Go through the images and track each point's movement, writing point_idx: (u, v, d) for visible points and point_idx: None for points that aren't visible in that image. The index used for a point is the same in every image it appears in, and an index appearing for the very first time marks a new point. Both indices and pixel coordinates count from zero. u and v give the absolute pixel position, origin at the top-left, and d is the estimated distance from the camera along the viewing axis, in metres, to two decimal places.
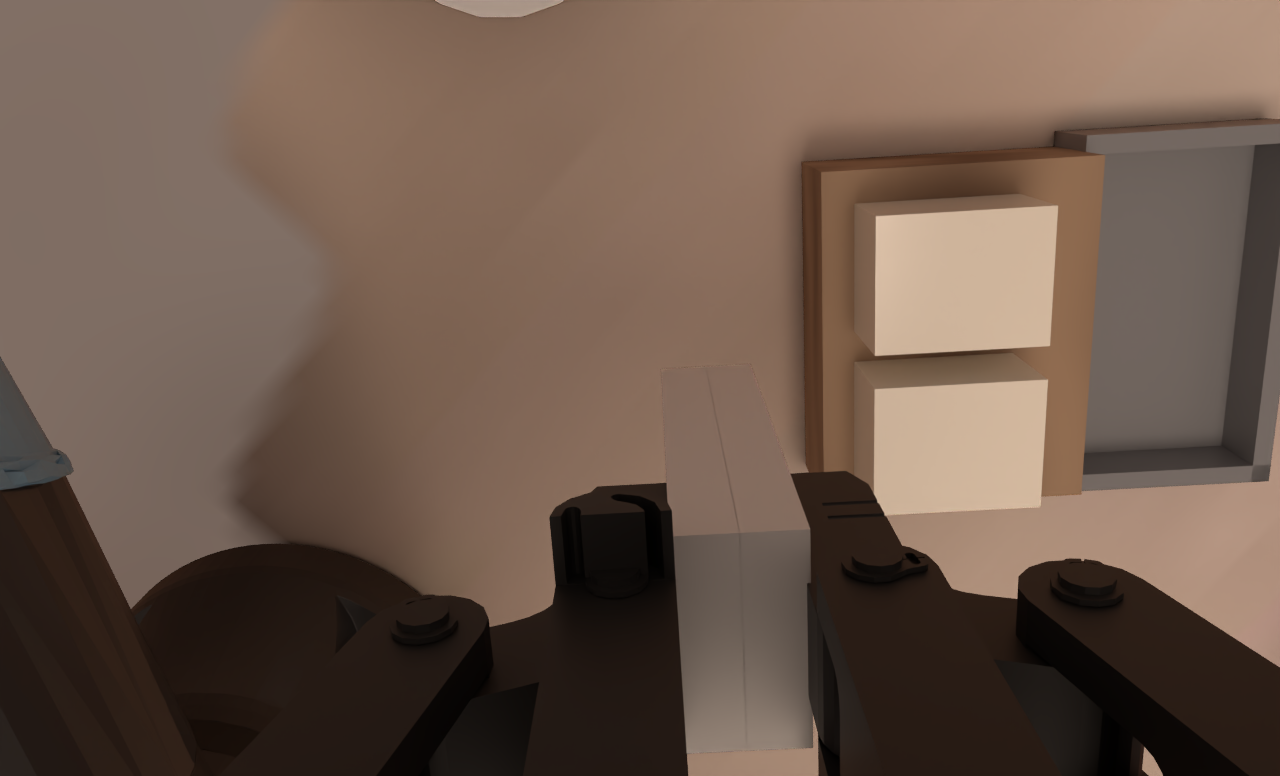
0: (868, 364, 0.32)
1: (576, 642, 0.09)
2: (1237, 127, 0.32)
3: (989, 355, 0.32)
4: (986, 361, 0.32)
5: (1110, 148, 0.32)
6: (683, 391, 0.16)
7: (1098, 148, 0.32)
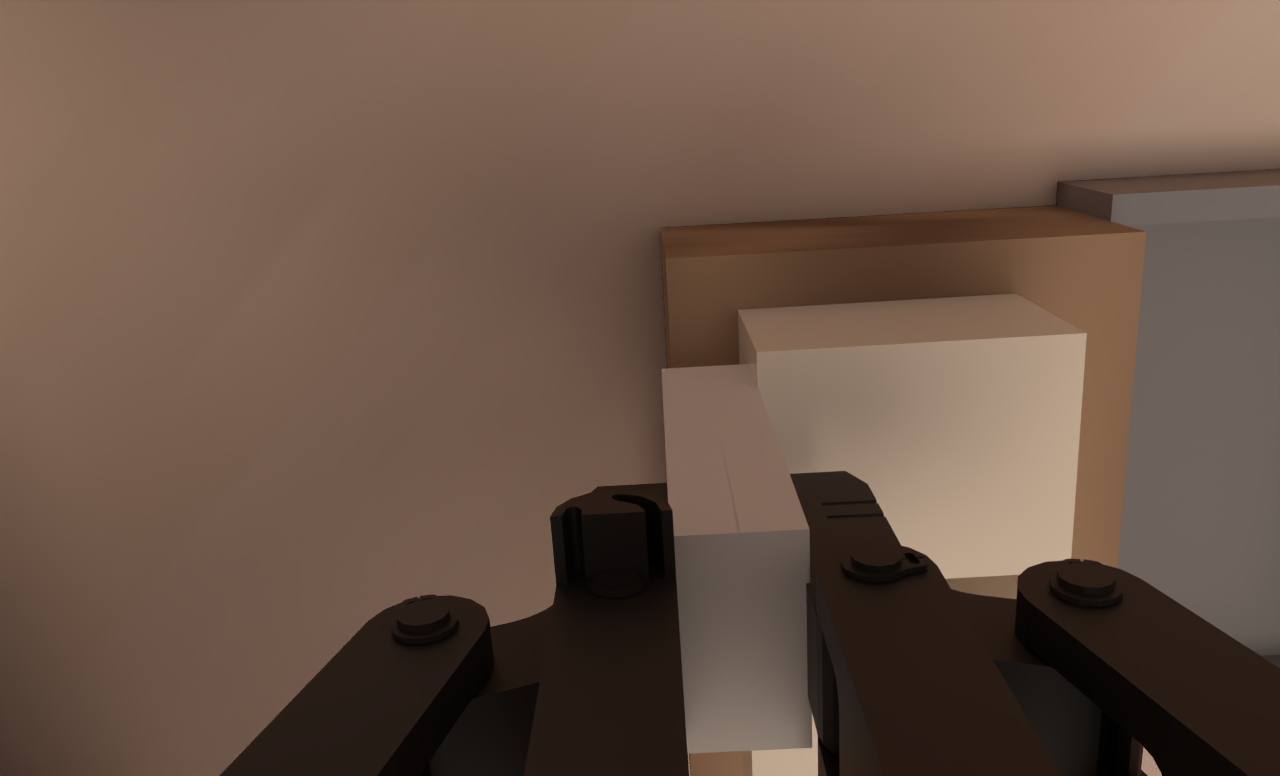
0: None
1: (577, 642, 0.09)
2: None
3: None
4: None
5: (1151, 216, 0.19)
6: (684, 391, 0.16)
7: (1131, 216, 0.19)
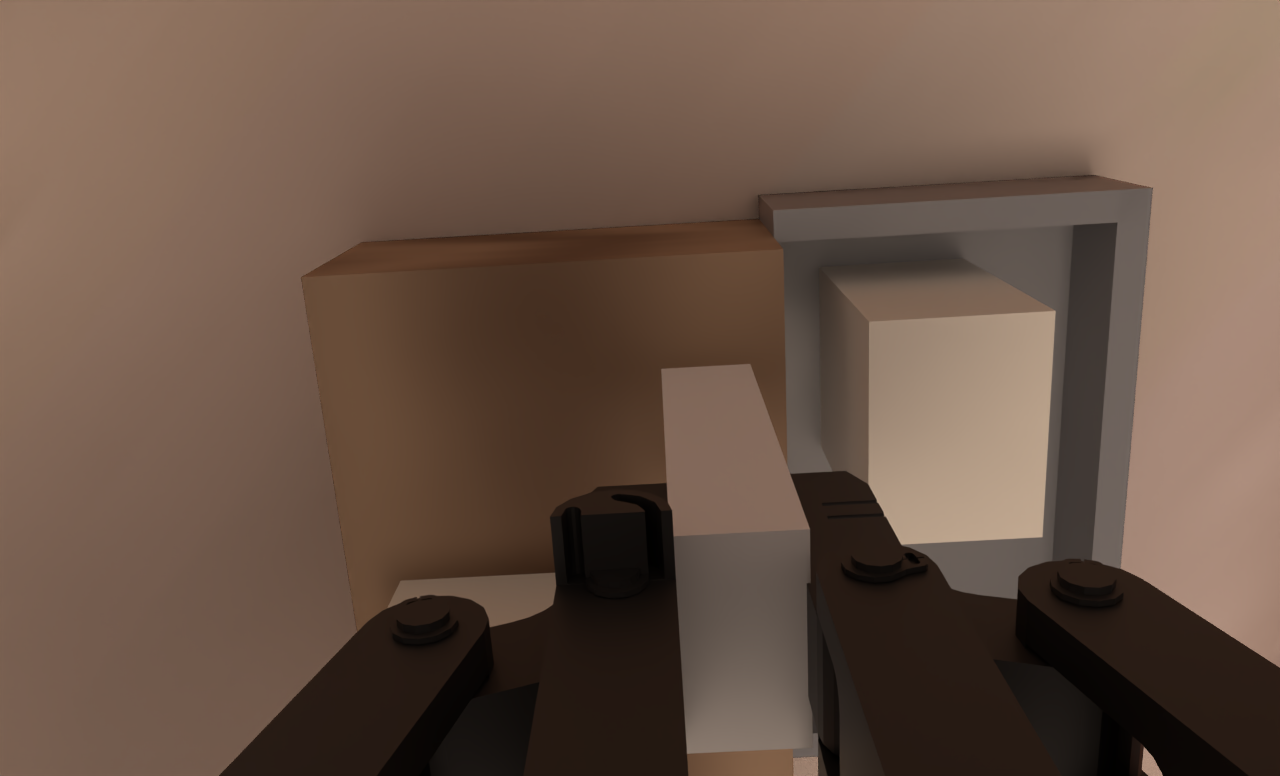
0: (413, 590, 0.19)
1: (576, 643, 0.09)
2: (1024, 197, 0.19)
3: None
4: None
5: (814, 231, 0.19)
6: (683, 391, 0.16)
7: (794, 231, 0.19)
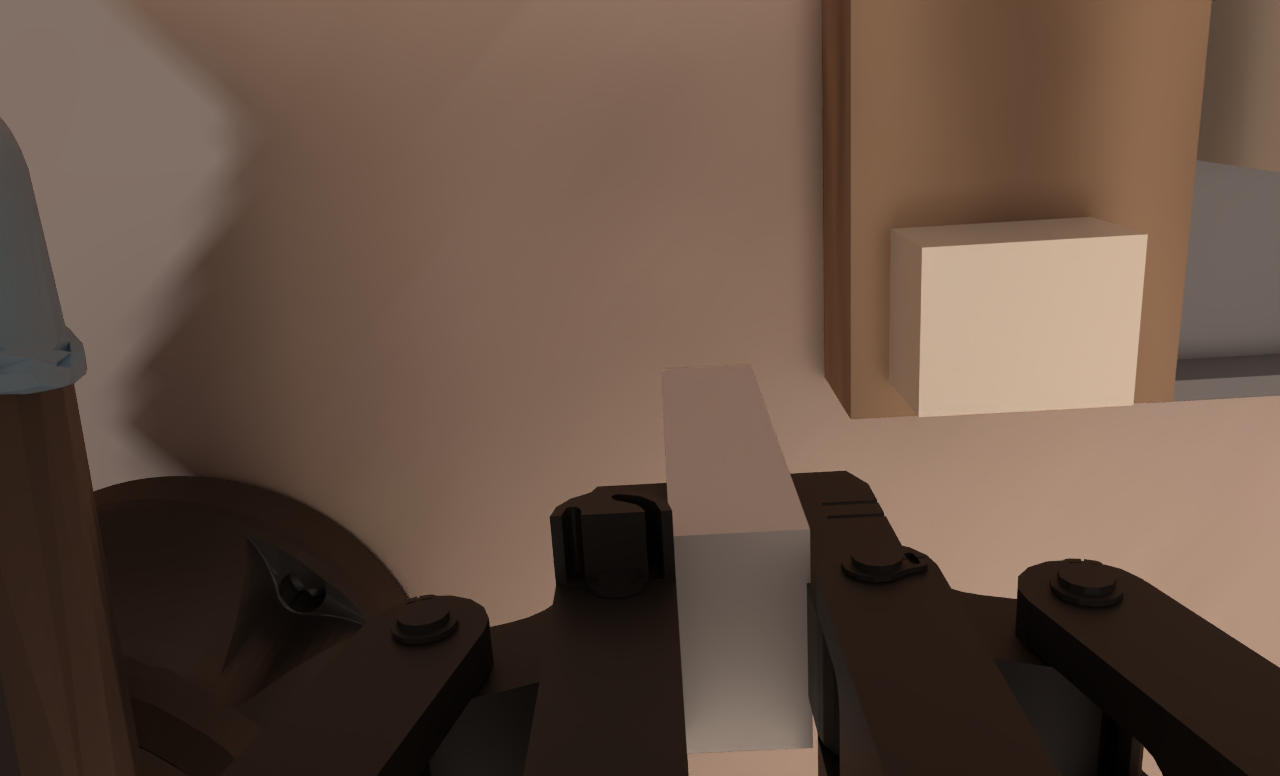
0: (908, 230, 0.25)
1: (576, 642, 0.09)
2: None
3: (1062, 219, 0.25)
4: (1059, 223, 0.25)
5: None
6: (683, 391, 0.16)
7: None
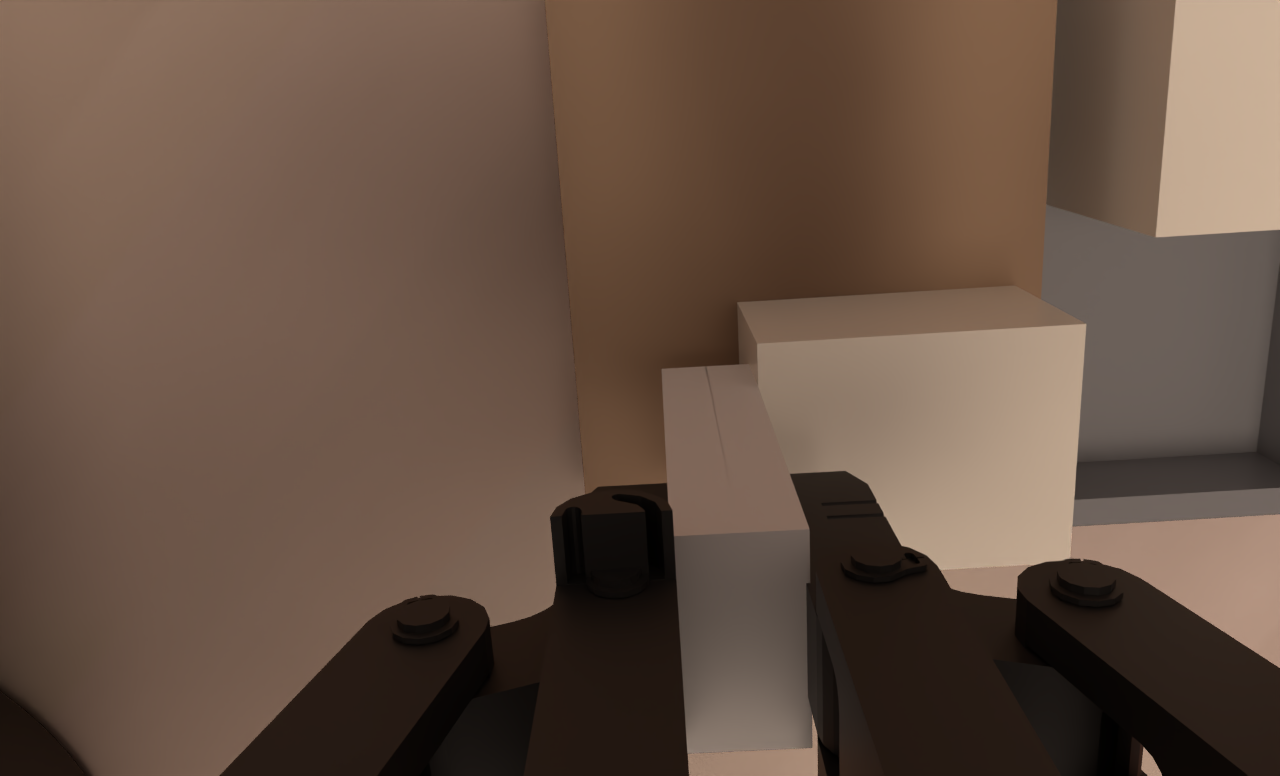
0: (759, 306, 0.18)
1: (577, 642, 0.09)
2: None
3: (975, 289, 0.18)
4: (968, 298, 0.18)
5: None
6: (684, 391, 0.16)
7: None
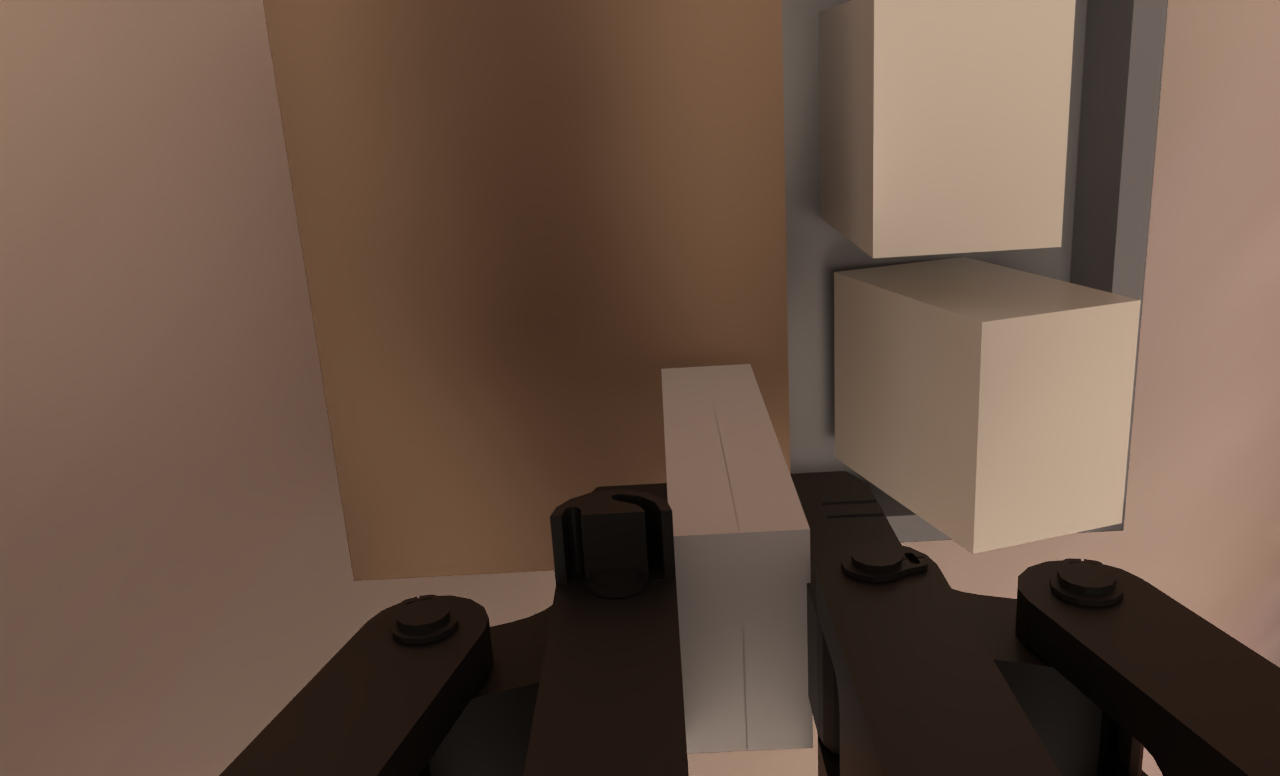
0: (993, 314, 0.16)
1: (577, 643, 0.09)
2: None
3: (860, 276, 0.20)
4: (897, 276, 0.20)
5: None
6: (683, 391, 0.16)
7: None
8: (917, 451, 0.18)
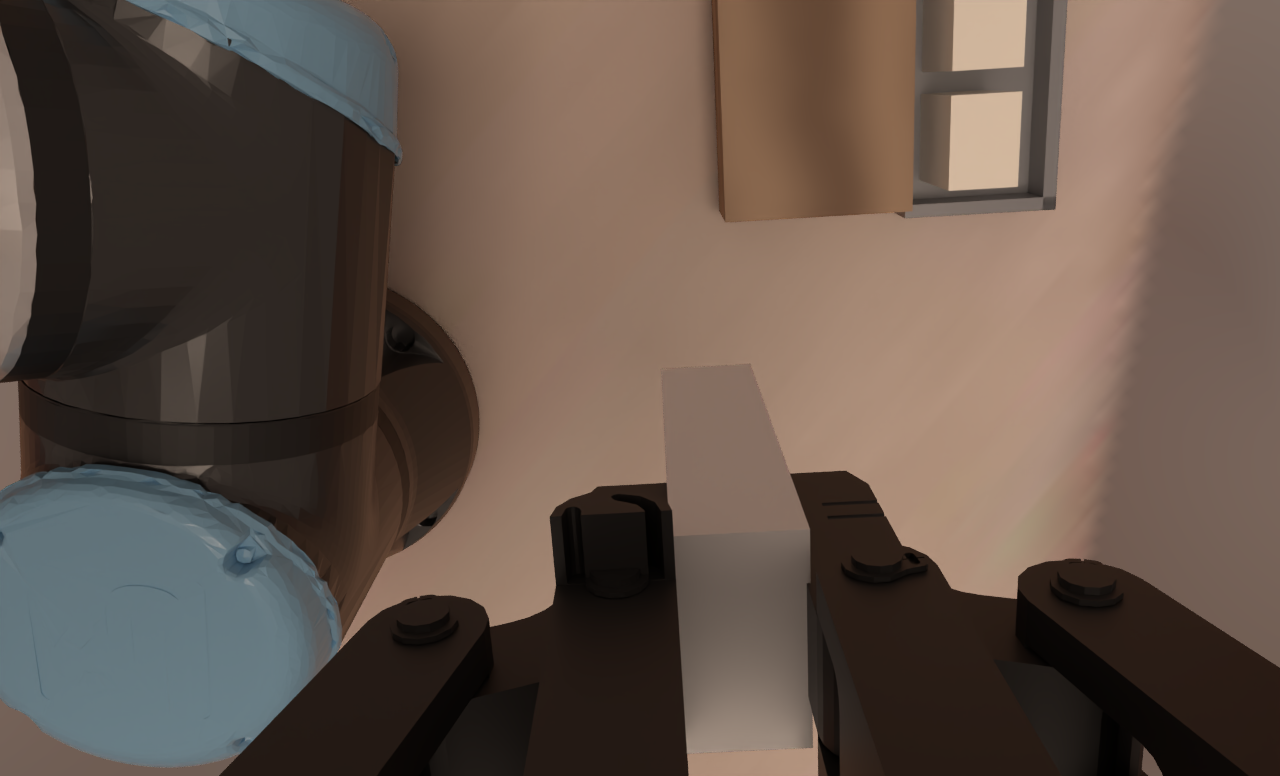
0: None
1: (576, 642, 0.09)
2: None
3: None
4: None
5: None
6: (683, 391, 0.16)
7: None
8: (938, 158, 0.46)
